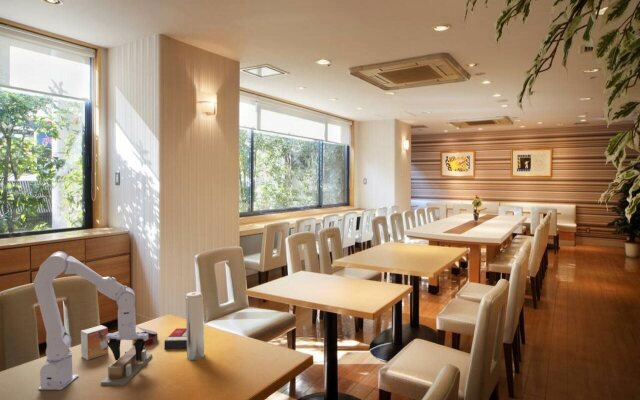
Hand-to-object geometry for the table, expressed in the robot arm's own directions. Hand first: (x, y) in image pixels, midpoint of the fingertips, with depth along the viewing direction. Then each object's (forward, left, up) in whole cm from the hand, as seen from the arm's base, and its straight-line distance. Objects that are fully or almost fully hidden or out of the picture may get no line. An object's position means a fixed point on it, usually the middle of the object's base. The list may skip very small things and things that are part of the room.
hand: (128, 359), depth 149 cm
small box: (+12, +19, -4) cm, 23 cm away
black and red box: (+26, -11, -4) cm, 28 cm away
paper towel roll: (+11, -21, -4) cm, 24 cm away
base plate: (0, 0, -4) cm, 4 cm away
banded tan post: (0, 0, -3) cm, 3 cm away
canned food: (+25, +5, -4) cm, 26 cm away
